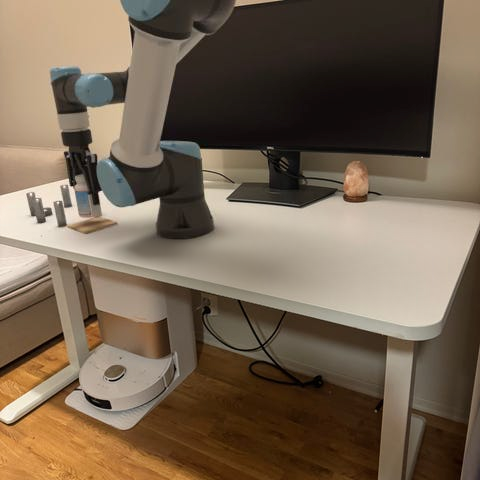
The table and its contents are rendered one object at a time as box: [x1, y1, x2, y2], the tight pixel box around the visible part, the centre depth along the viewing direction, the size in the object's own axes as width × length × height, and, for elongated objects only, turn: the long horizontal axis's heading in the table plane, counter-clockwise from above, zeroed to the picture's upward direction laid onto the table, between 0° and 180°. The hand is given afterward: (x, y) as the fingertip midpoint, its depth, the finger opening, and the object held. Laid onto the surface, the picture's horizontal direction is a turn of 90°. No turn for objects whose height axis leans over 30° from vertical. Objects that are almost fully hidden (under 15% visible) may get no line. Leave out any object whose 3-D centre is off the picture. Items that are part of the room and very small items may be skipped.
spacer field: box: [26, 184, 102, 228], centre depth 141 cm, size 20×17×7 cm
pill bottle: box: [73, 174, 93, 219], centre depth 128 cm, size 6×6×11 cm
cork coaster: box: [66, 216, 119, 235], centre depth 131 cm, size 10×10×1 cm
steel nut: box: [43, 207, 53, 218], centre depth 144 cm, size 4×4×2 cm
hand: (90, 213), depth 130 cm, fingers closed on pill bottle, 6 cm apart
